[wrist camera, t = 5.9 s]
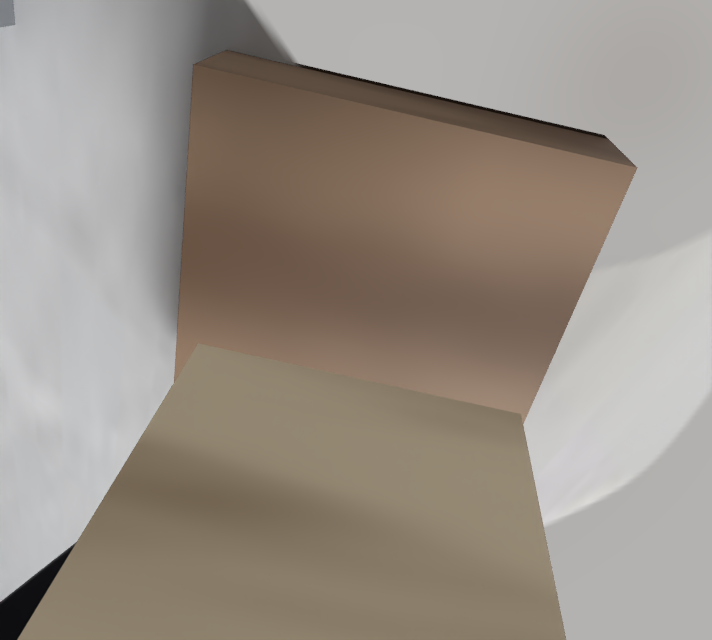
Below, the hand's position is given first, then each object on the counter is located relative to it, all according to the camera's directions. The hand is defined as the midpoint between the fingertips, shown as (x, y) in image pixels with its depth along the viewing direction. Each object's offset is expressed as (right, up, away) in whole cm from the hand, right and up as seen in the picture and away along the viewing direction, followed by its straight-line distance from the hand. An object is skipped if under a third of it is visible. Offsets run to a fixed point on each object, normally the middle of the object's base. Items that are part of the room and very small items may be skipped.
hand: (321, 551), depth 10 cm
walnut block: (+1, +5, +9) cm, 11 cm away
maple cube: (0, +1, +1) cm, 1 cm away
